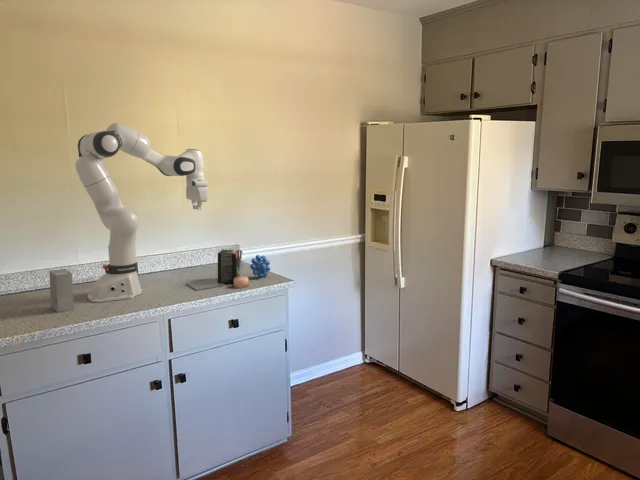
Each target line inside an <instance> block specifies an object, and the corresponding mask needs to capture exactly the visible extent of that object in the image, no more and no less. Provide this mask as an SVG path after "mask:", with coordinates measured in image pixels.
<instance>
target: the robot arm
mask: <svg viewBox="0 0 640 480" xmlns="http://www.w3.org/2000/svg"><path fill="white" fill-rule="evenodd" d="M77 150H78V159H77V160H76V161H75V163H74V165H75V169H76V173H77V175H78V177H79V180H80V181H81V183H82V186H83V188H85V191H86V192H87V194H88V195H89V198H90V199H91V200H92V202H93V204H94V207H95V209H96V211H97V214H98V216H99V218H100V220H101V222H102V224H103V226H104V227H105V228H106V229H108V230H109V243H108V246H107V248H108V250H107V251H108V259H109V260H108V261H109V264H104V263H103V264H102V269H103V270H104V271H105V272H104V274H103V275H101V277H99V278H98V279H97V280H96V281H94V283H93V285H92V286H93V287H92V292H89V293H88V294H87V299H88V301H89V302H92V303H104V302H112V301H113V302H114V301H120V300H121V301H122V300H130V299H134V298H135V297H136V296H139V295H141V294H142V293H143V289H142V288H141V284H140V281H139V275H138V274H139V265H138V262H137V256H136V240H137V239H136V238H137V231H138V230H137V229H138V227H139V219H138V216H137V215H136V214H135V213H134V212H133V211H132V210H130V209H127V208H125V207H124V205H123V202H122V200H121V197H120V194H119V190H118V188H117V186H116V185H115V183H114V181H113V179H112V178H111V176H110V173H109V172H108V171H107V168H106V167H105V164H104V163H105V161H104V160H105V159H107V158H111V157H113V156H114V155H116V154H117V153H118V152H119V151H121V152H123V153H126V154H127V155H129V156H133V157H135V158H138V159H141V160H144V161H145V162H146V163H149V164H150V165H152V166H153V167H156V169H158V171H159V172H160V174H162V175H163V176H166V177H184V176H185V177H186V180H185V181H186V186H185V187H186V188H185V196H186V199H187V200H189V201H190V200H191V205H192V209H193V210H197V211H201V210H202V205H203V203H206V202H208V198H209V197H208V196H209V195H208V193H209V191H208V186H209V182H208V180H207V179H206V178H205V173H204V169H205V163H204V156H203V152H202V151H201V150H199V149H197V148H196V149H194V148H187V149H185V151H184V152H182V153H181V154H178V155H162V154H161V153H159V152H157V151H155V150H154V149H152V148H151V142H150V139H149V138H148V137H147V136H146V135H145V134H143V133H142V132H140V131H138V130H136V129H134V128H133V127H130V126H128V125H125V124H122V123H119V122H114V123H110V125H109V126H108V127H107V128H106V130H103V131H94V132H90V133H87V134H85V135H83V136H82V137H80V138H79V140H78V142H77Z"/></svg>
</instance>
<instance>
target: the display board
mask: <svg viewBox="0 0 640 480" xmlns="http://www.w3.org/2000/svg"><path fill="white" fill-rule="evenodd" d="M186 286H188V287H190V288H191V289H193V290H195V291H203V290H209V289H210V290H211V289H215V288H221V287H225V286H226V283H222V282H218V279H216V278H212V279H204V280H200V281H193V282H187V283H186Z"/></svg>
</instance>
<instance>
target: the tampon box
mask: <svg viewBox="0 0 640 480" xmlns="http://www.w3.org/2000/svg"><path fill="white" fill-rule="evenodd" d="M240 263H241V250H240V249H239V250H238V249H237V250H235V249H221V250H220V251H218V252H217V280H218V282H222V283H224V284H234V278H235V277H240V276H241V275H240V274H241V270H240V269H241V268H240V266H241V265H240Z"/></svg>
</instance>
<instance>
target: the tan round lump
mask: <svg viewBox="0 0 640 480" xmlns="http://www.w3.org/2000/svg"><path fill="white" fill-rule="evenodd" d="M249 284H250V283H249V277H248V276H242V275H240V277H235V278H234V283H233V288H235V289H246V288H249V286H250V285H249Z"/></svg>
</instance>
